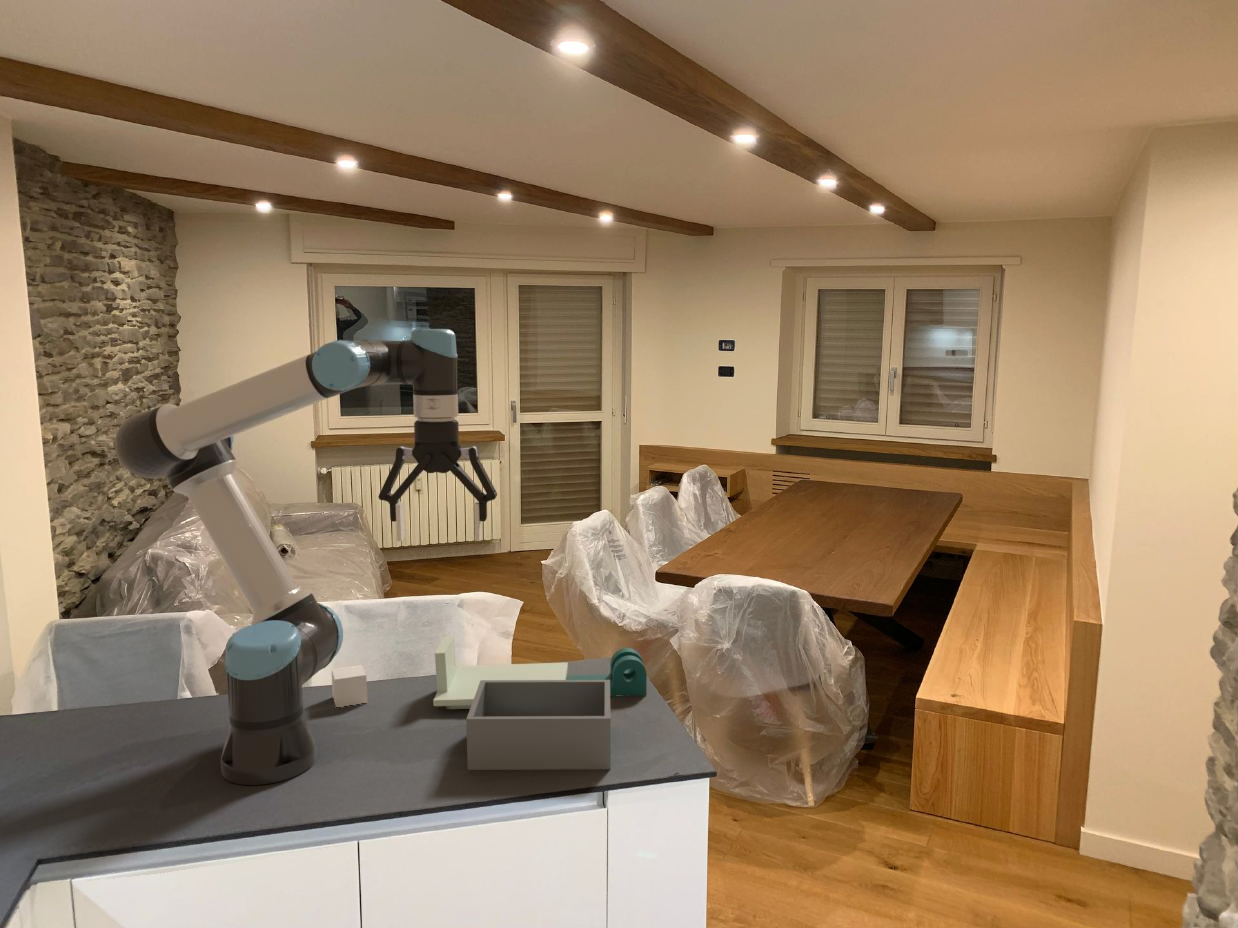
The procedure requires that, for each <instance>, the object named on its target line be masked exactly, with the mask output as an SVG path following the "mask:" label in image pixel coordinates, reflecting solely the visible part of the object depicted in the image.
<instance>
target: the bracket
mask: <svg viewBox="0 0 1238 928" xmlns="http://www.w3.org/2000/svg"><path fill="white" fill-rule="evenodd" d="M647 675H648V674H647V670H646V667H645V664H644V661H643V658H642V656H641V654H640V653H639V651H637V650H636V649H633V648H631V647H624V648H619V649H618V650H617V651H615V653H613V655H612V657H611V658H610V673H608V674H607V673H606V674H584V675H581V674H579V675H567V678H566V680H610V696H611V697H617V696H616V695H638V696H647V682H648V681H647V680H648V679H647V678H648V677H647Z"/></svg>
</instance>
